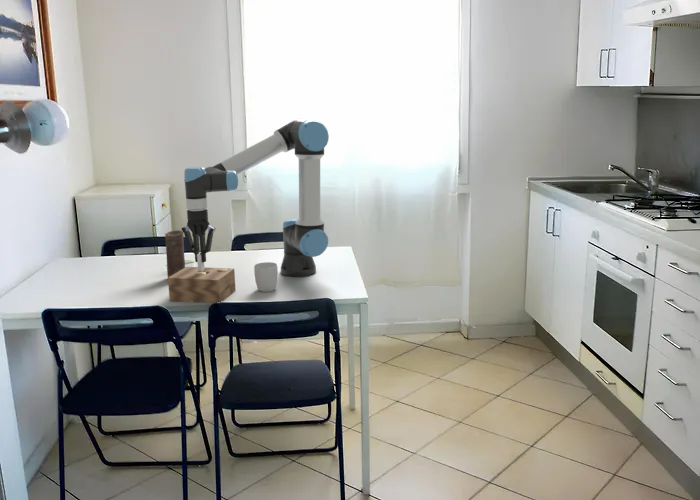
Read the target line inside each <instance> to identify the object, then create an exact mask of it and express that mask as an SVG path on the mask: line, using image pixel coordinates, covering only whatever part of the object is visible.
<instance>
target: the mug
mask: <svg viewBox="0 0 700 500" xmlns="http://www.w3.org/2000/svg"><path fill="white" fill-rule="evenodd" d="M253 267H254V268H253V271H254V279H255V284H256V287H257V290H258V291H259V292H263V293H265V292H266V293H268V292H274V291H275V290H276V288H277V285H278V273H279V271H278V264H277V263H275V262H270V261H267V262H265V261H264V262H259V263H255V264H254V266H253Z"/></svg>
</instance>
